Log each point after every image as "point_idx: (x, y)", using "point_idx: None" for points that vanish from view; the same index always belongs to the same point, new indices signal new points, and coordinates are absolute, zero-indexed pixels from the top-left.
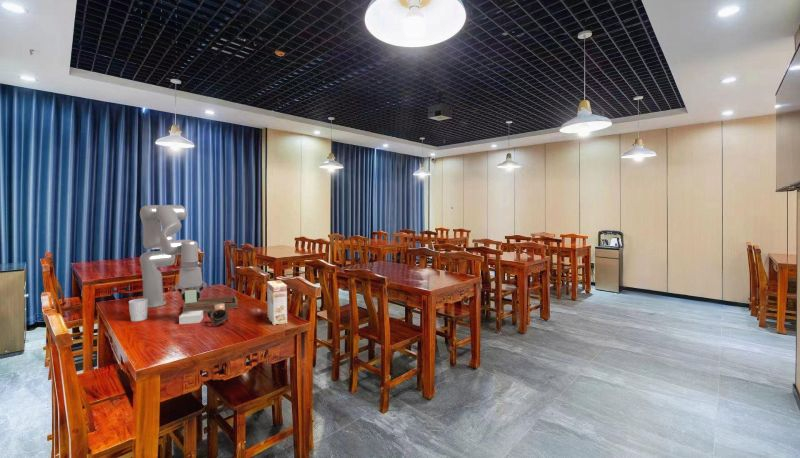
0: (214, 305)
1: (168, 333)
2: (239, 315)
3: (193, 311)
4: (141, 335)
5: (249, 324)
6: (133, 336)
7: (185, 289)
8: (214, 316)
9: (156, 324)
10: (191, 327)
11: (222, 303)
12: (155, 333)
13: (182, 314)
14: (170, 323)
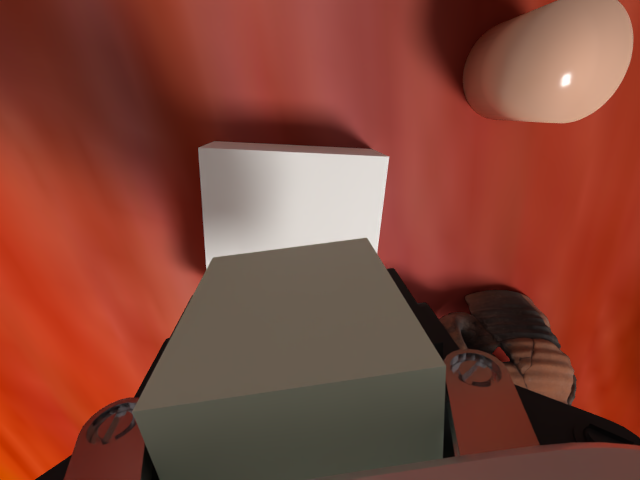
0: (518, 83)
1: None
2: (629, 199)
3: (299, 168)
4: (61, 430)
5: (618, 396)
6: (20, 435)
7: (138, 420)
8: (472, 343)
9: (37, 239)
10: None
11: (618, 10)
12: None
13: (216, 248)
14: (145, 246)
